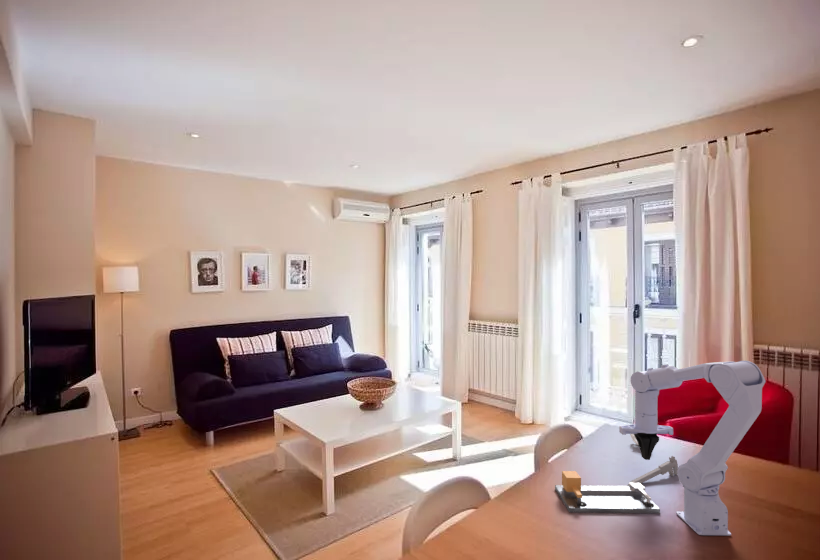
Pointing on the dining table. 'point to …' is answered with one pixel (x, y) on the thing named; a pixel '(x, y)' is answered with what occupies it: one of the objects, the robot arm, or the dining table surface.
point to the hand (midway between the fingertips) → (645, 458)
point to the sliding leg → (572, 483)
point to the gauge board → (609, 499)
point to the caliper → (659, 471)
